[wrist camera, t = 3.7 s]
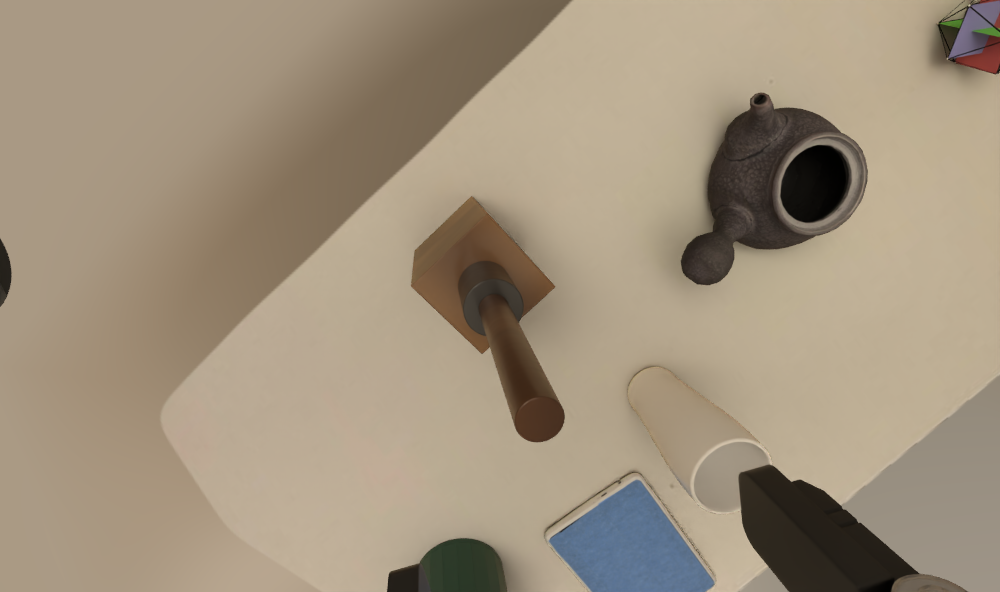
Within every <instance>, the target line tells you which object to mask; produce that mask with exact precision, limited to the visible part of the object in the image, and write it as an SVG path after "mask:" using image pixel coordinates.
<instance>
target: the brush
mask: <svg viewBox="0 0 1000 592" xmlns="http://www.w3.org/2000/svg"><path fill="white" fill-rule="evenodd" d="M458 291H459V296H460V301H461V305H462V310H463V314H464V318H465V320H466V322H467V324H468V325H469V327H470V328H471V329H472V330H474V331H475V332H476V333H478V334H480V335H483V336H487V340H488V343H489V346H490V349H491V352H492V355H493V359H494V362H495V365H496V368H497V371H498V374H499V378H500V381H501V384H502V387H503V390H504V393H505V397H506V400H507V403H508V406H509V409H510V412H511V415H512V419H513V422H514V425H515V428H516V430H517V432H518V434H519V435H520V436H521V437H523V438H524V439H526V440H528V441H531V442H543V441H547V440H549V439H551V438H553V437H554V436H556V435H557V434H558V433H559V431H560V430H561V428H562V426H563V424H564V419H565V415H564V410H563V408H562V406H561V404H560V402H559V400H558V398H557V396H556V394H555V392H554V390H553V388H552V386H551V385H550V383H549V381H548V379H547V377H546V375H545V373H544V371H543V369H542V367H541V365H540V363H539V361H538V360H537V358H536V356H535V354H534V352H533V350H532V348H531V346H530V344H529V342H528V340H527V338H526V336H525V334H524V333H523V331H522V329H521V327H520V325H519V321H520V320H521V317H522V315H523V310H524V303H523V299H522V296H521V294H520V292H519V290H518V289H517V287H516V286H515V284H514V283H513V281H512V279H511V278H510V276H509V275H508V273H507V272H506V270H505V269H504V268H503V267H502V266H500V265H499V264H497V263H495V262H491V261H479V262H476V263H473V264H472V265H470V266H469V267H467V268H466V269H465V270H464V272H463V273H462V275H461V276H460V279H459V283H458Z"/></svg>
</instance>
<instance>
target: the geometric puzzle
mask: <svg viewBox="0 0 1000 592" xmlns="http://www.w3.org/2000/svg"><path fill="white" fill-rule="evenodd" d="M964 1H965V0H964ZM964 1H963V2H964ZM963 2H962V3H963ZM972 2H973V1H972ZM972 2H971V3H972ZM971 3H970V4H971ZM970 4H969V5H968V6H967V7H968V8H967V7H965V8H967V11H966V13H965V16H964V18H963V19H958V20H952V21H946V22H942V20H943V19H942V20H941V21H940V22H938V23H937V24H938V26H939V27H940V25H939V24H943V25H947V26H952V27H956V28H959V30H958V33H957V35H956V38H955V40H954V43H953V45H952V48H951V50H950V49H949V51H950V53H949V55H948V58H946V60H950V59H951V58H953V60H954V58H956V60H954V64H955V63H958V64H961V65H965V66H968V67H972V68H975V69H979V70H982V71H986V72H989V73H993V74H996V76H997V75H998V73H1000V72H999V71H1000V0H981V1H980V2H979V4H978V3H976V5H975V4H972V5H970ZM957 7H958V6H957ZM957 7H956V8H957ZM956 8H955V9H956ZM965 8H964V9H965ZM962 10H963V9H962ZM962 10H960V11H962ZM960 11H958V12H960ZM958 12H957V13H958ZM950 13H951V12H950ZM950 13H949V14H950ZM949 14H948V15H949ZM955 14H956V13H955ZM955 14H953V15H955ZM953 15H951V16H953ZM951 16H950V17H951ZM948 18H949V17H948ZM946 19H947V18H946ZM946 19H944V20H946ZM944 20H943V21H944ZM939 30H941V28H939ZM941 32H942V30H941V31H940V33H941ZM942 34H943V32H942ZM941 37H942V35H941ZM943 37H944V35H943ZM944 39H945V37H944ZM942 41H943V39H942ZM945 41H946V39H945ZM946 44H947V42H946ZM943 45H944V43H943ZM947 46H948V44H947ZM948 48H949V46H948ZM944 49H945V47H944ZM945 53H946V51H945ZM946 57H947V55H946ZM953 60H950V61H952V62H953Z"/></svg>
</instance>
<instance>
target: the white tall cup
mask: <svg viewBox="0 0 1000 592" xmlns="http://www.w3.org/2000/svg"><path fill="white" fill-rule="evenodd" d="M628 400H629V403H630V405H631V407H632V408H633V409H634V411H635V412H636V413H637V415H638V416H639V418H640V419H641V421H642V423H643V424H644V426H645V428H646V429H647V431H648V433H649V435H650V436H651V438H652V440H653V441H654V443H655V445H656V447H657V448H658V450H659V452H660V453H661V455H662V457H663V459H664V460H665V462H666V464H667V465H668V467H669V468H670V470H671V471H672V473H673V474H674V476H675V477H676V479H677V480H678V481H679V483H680V484H681V485H682V487H683V488H684V489H685V490H686V492H687V493H688V494H689V495H690V496H691V497H692V499H693V500H694V501H695V502H696V503H697V504H698V505H699V506H700V507H701V508H702V509H704V510H706V511H708V512H711V513H714V514H731V513H735V512H738V511H741V503H740V492H739V481H738V477H739V474H740V473H741V472H744V471H748V470H751V469H755V468H758V467H761V466H765V465H772V466H773V464H772V459H771V456H770V454H769V452H768V451H767V449H766V448H765V447H764V446H763V445H762V444H761V443H760V442H759V441H758V440H757V439H756V438H755V437H754V436H753V435H752V434H751V433H750V432H749V431H748V430H747V429H746V428H744V427H743V426H742V425H741V424H740V423H739V422H738V421H736V420H735V419H734V418H733V417H731V416H730V415H729V414H727V413H726V412H725V411H723V410H722V409H720V408H719V407H718V406H716V405H715V404H713V403H712V402H710V401H709V400H708V399H706V398H705V397H703V396H702V395H701V394H699V393H698V392H696V391H695V390H694V389H692V388H691V387H689V386H688V385H687V384H685V383H684V382H682V381H681V380H680V379H678V378H677V377H676V376H675V375H674V374H673V373H672V372H671V371H669V370H667V369H665V368H662V367H649V368H646V369H644V370H642V371H640V372H639V373H637V374H636V375H635V376H634V378H633V379H632V380H631V382H630V384H629V387H628Z"/></svg>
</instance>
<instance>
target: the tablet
mask: <svg viewBox="0 0 1000 592" xmlns="http://www.w3.org/2000/svg"><path fill="white" fill-rule="evenodd" d="M544 538H545V541H546V542H547V544H548V545H549V546H550V547H551V549H552V550H553V551H554V552H555V553H556V554H557V556H558V557H559V558H560V559H561V560H562V562H563V563H564V564H565V565H566V566H567V567H568V568H569V570H570V571H571V572H572V573H573V574H574V576H575V577H576V578H577V579H578V580H579V581H580V583H581V584H582V585H583V586H584V587H585V588H586V590H587V591H588V592H706V591H708V590H709V589H711V588H712V587H713V586H714V585H715V584H716V578H715V576H714V575H713V573H712V572H711V571H710V569H709V568H708V566H707V565H706V564H705V562H704V561H703V559H702V558H701V557H700V555H699V554H698V553H697V551H696V550H695V548H694V547H693V546H692V544H691V543H690V542H689V540H688V539H687V537H686V536H685V535H684V533H683V532H682V530H681V529H680V528H679V526H678V525H677V523H676V522H675V521H674V519H673V518H672V517H671V515H670V514H669V512H668V511H667V509H666V508H665V506H664V505H663V504H662V502H661V501H660V499H659V498H658V497H657V496H656V495H655V493H654V491H653V490H652V489H651V487H650V486H649V485H648V484H647V482H646V481H645V479H644V478H643V477H642V476H641V475H640V474H639V473H631V474H629V475H627V476H625V477H624V478H622V479H620V481H619V482H616V483H614V484H613V485H611V486H609V487H608V488H606V489H605V490H603V491H602V492H600V493H599V494H597V495H596V496H594V497H593V498H591V499H590V500H588V501H587V502H585V503H584V504H582V505H581V506H579V507H578V508H577V509H575V510H574V511H572V512H571V513H570V514H568V515H567V516H565V517H564V518H563V519H561V520H560V521H558V522H557V523H556V524H554V525H553V526H552V527H550V528H549V529H548V530H547V531H546V532H545V534H544Z"/></svg>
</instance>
